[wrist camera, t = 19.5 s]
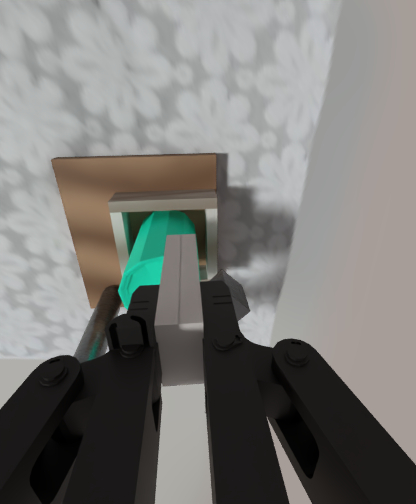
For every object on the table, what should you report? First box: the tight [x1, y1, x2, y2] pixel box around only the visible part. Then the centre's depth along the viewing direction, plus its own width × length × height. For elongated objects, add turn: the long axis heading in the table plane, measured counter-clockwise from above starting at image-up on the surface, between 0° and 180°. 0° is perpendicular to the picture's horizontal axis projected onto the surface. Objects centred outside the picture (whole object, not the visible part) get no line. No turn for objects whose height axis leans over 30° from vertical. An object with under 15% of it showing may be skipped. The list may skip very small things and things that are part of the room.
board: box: [51, 153, 217, 308], centre depth 29 cm, size 17×15×4 cm
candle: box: [118, 210, 200, 310], centre depth 24 cm, size 6×6×12 cm
